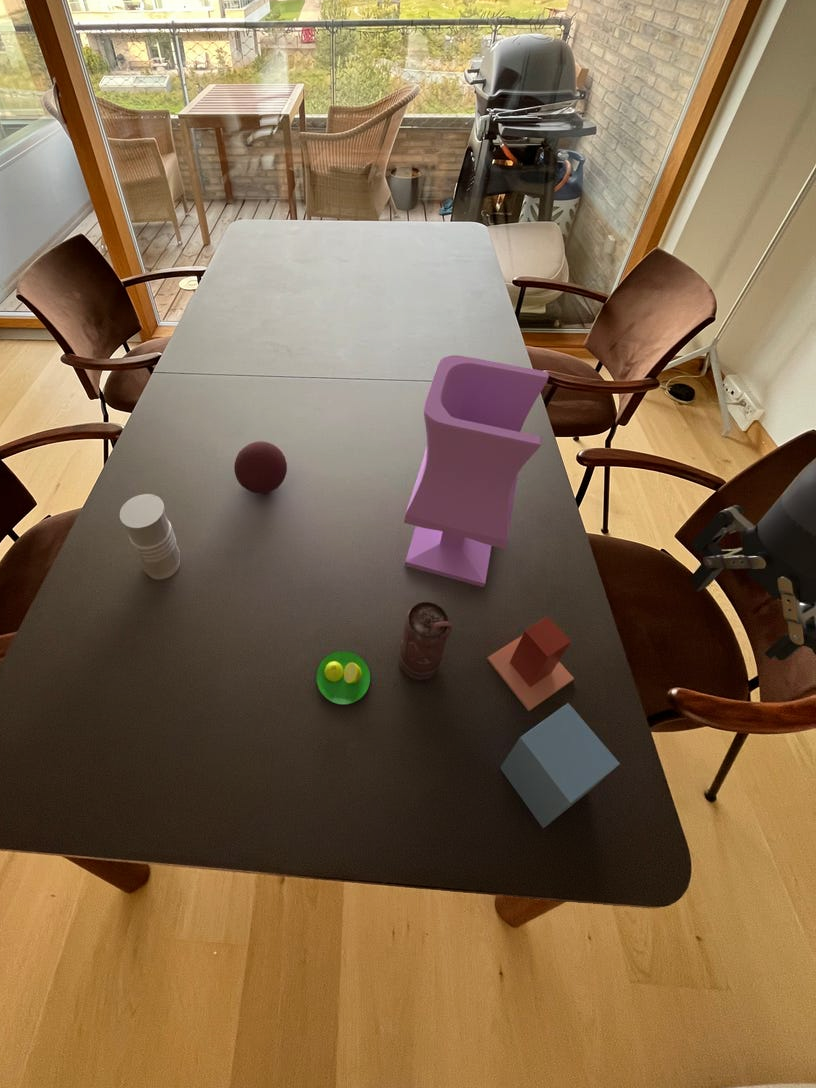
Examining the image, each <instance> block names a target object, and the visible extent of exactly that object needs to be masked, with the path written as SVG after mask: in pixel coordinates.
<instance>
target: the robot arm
mask: <svg viewBox="0 0 816 1088" xmlns="http://www.w3.org/2000/svg"><path fill="white" fill-rule="evenodd" d="M744 514H745V510H744V508H743V507H742V506H741V505H738V504H734V505H733V506H729V507H727V508H725V509H722V510H720V511H718V512H717V513H716V514H715V515H714V516H713V517H712V518H711V519H710V521H709V522H708V523H707V524H706V526H705V527H704V528H703V529H702V530H701V531H700V532H699V533H698V534H697V536H695V538H694V539H693V540H692V541H691V544H690V545H691V548H692V549H693V551H695V552H699V553H700V555H701V556H702V562H701V563H700V565H698V567H697V568H696V569H695V571H694V572H693V574H691V578H690V581H692V582H693V583H692V584H691V588H692V589H693V590H695V591H696V592H697V593H698V592H699V591H701V590H704V589H706V588H708V587H709V586H710V585H711V584H712V583H713V582H714V581H715V579H716V578H717V577H718V576H719V574H721V572H722V571H723V570H724V568H725V570H737V569H738V570H739V569H744V570H745V572H746V573H747V574H746V577H748V578H749V579H750V580H751V581H752V582H754V583H755V584H757V585H759V586H761V587H762V588H763V589H764V591H765V592H766V593H767V594H768V595H769V596H770V597H771V598H773V599H774V600H775V601H778V600H779V601H780V602H781V608H782V616H783V619H784V620H786V622H787V629H788V630H787V631H788V632H787V633H785V634H783V635H782V636H781V637H780V638H779V639H777V641H776V642H775V643H773V644H772V645H771V646H770V647H769V648H768V649H767V650H766V651H765V652H764V653H763V654H764V655H765V656H766V657H767V658H768V659H770V660H773V659H774V658H776V659H777V660H778V661H785V660H787V659H788V658H790V657H791V656H793V655H795V653H797V652H798V651H799V650H800V649H802V648H803V647H807V648H809V649H811V650H812V652H813V654H814V655H815V656H816V457H815V458H814V459H813V460H811V462H809V463H808V464H807V465H806V466H805V467H804V468H803V469H802V470H801V471H800V472H799V473H798V475H797V476H796V477H794V479H793V480H792V482H791V483H790V484H789V485H788V486H787V488H786V489H785V490H784V491H783V493H781V495H780V496H779V498H777V499H776V501H775V502H774V503H773V504H772V505H771V507H770V508H769V509H768V511H766V513H765V514H764V515H763V516H762V518H761V519H760V520H759V521H758V523H757V524H755V525H754V524H753V523H752V522H750V521H749V520H748V519H747V517H745V516H744ZM735 532H739V533H741V535H740V542H741V547H738V548H732V549H731V548H729V549H727V548H726V549H721V547H720V546H719V544H718V543H719V542H720V541H721V540H722V538H723V537H724V536H725V535H726V534H733V533H735Z"/></svg>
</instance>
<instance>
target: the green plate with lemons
mask: <svg viewBox="0 0 816 1088" xmlns="http://www.w3.org/2000/svg"><path fill="white" fill-rule="evenodd" d="M370 683H371V672H370V670H369V666H368V665H367V663H366V661H365V660H364V659H363V658H362V657H361V656H359V655H358V654H357V653H354V652H352V651H347V650H339V651H335V652H332V653H330V654H328V655H327V656H325V657H324V658H323V659H322V660H321V662H320V664H319V665H318V668H317V671H316V684H317V687H318V689H319V692H320V693H321V695H322V696H323V697H324V698H326V699H327V700H328V701H330V702H332V703H335V704H337V705H349V704H353V703H355V702H357V701H359V700H361V698H363V697H364V695H365V694H367V691H368V690H369V686H370Z"/></svg>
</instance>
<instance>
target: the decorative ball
mask: <svg viewBox="0 0 816 1088" xmlns="http://www.w3.org/2000/svg"><path fill="white" fill-rule="evenodd" d="M233 465H234V466H233V467H234V470H233V471H234V476H235V478H236V480H237V482H238V483H239V485H240V487H242V488H243V489H245V490H247V491H248V492H250V493H252V494H259V495H260V494H261V495H262V494H269V493H270V492H273V491H275V490H276V489H278V488H279V487H281V485H282V484H283V482H284V480H285V479H286V475H287V471H288V463H287V459H286V456H285V455H284V453H283V451H282V450H281V449H280V448H279V447H278V446H277V445H275V444H274V443H270V442H268V441H261V440H260V441H259V440H258V441H253V442H251V443H248V444H247V445H245V446H244V447H242V449H240V450H239V452H238V454H237V455H236V457H235V460H234V464H233Z"/></svg>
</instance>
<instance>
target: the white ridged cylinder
mask: <svg viewBox="0 0 816 1088" xmlns="http://www.w3.org/2000/svg"><path fill="white" fill-rule="evenodd" d="M165 510H166V509H165V504H164V501H163V500H162V498H160V496H157V495H156V494H151V493H143V494H139V495H136V496H133V497H131V498H129V499H128V500H127V501H126V502H125V503H124V504H122V507H121V508H120V510H119V511H120V512H119V519H120V522H121V524H122V525H123V526H125V529H126V531H127V533H128V542H129V543H130V546H131V548H132V551H133V553H134V556H135V557H136V560H138V562H139V565H140V567H141V569H142V571H144V572H145V573H146V574H147V576H149V578H151V579H154V580H165V579H168V578H170V577H172V576H173V575H175V574H176V573H177V571H178V570H179V568H180V565H181V551H180V547H179V546H178V543H177V538H176V535H175V532H174V529H173V525H172V524H171V522H170V520H169V519H168V518H167V514H166V511H165Z"/></svg>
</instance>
